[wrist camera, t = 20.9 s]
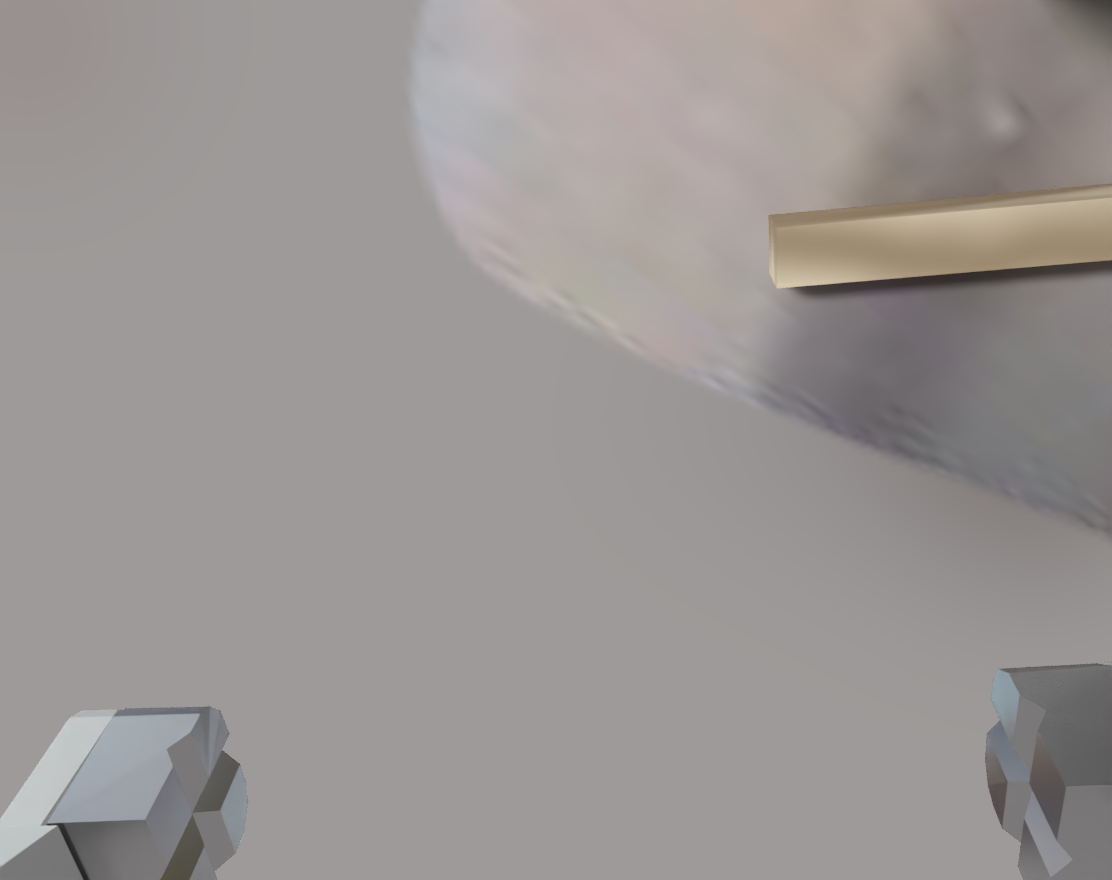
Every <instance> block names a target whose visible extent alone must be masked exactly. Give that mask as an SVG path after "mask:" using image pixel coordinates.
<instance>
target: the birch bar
mask: <svg viewBox="0 0 1112 880" xmlns="http://www.w3.org/2000/svg"><path fill="white" fill-rule="evenodd" d="M1107 260H1112V184H1105V185H1094V186H1083V187H1072V188H1061V189H1050V190H1039V191H1028V192H1017V193H1006V194H995V195H984V196H973V197H962V198H951V199H940V200H929V201H918V202H907V203H896V204H885V205H874V206H863V207H852V208H841V209H830V210H819V211H808V212H797V213H786V214H775V215H769V274H770V276H771V278H772V280H773V282H774V284H775V286H776V288H788V287H800V286H812V285H824V284H835V283H847V282H859V281H871V280H883V279H895V278H906V277H918V276H930V275H942V274H954V273H965V272H977V271H989V270H1001V269H1013V268H1025V267H1036V266H1048V265H1060V264H1072V263H1084V262H1095V261H1107Z"/></svg>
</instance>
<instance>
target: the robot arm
mask: <svg viewBox="0 0 1112 880" xmlns="http://www.w3.org/2000/svg"><path fill="white" fill-rule="evenodd" d="M991 701H992V703H993V705H994V708H995V710H996V712H997V714H998V717H999V719H1000V721H999V722H998V723H997V724H996V725H995V726H994V727H993V728H992V729H991V730H990V731H989V732H988V733H987V740H986V753H985V763H986V771H987V781H988V788H989V791H990V795H991V799H992V802H993V806H994V809H995V811H996V814H997V816H998V819H999V822H1000V824H1001V826H1002V829H1004V830H1005V831H1006V832H1008V833H1009V834H1010V835H1012V836H1013V837H1014V838H1016V839H1017V840H1018V841H1020V842H1021V846H1020V854H1019V861H1018V868H1019V870H1020V873H1021V875H1022V877H1023V880H1112V662H1104V663H1102V664H1080V665H1062V666H1043V667H1026V668H1009V669H1008V668H1007V669H998V671H997V673H996V675H995V678H994V680H993V687H992V694H991ZM228 735H229V731H228V729H227V726H226V724H225V721H224V719H223V716H222V714H221V711H220V710H217V709H215V708H212V707H172V708H130V709H124V710H83V711H81V712H79V713H77V714H76V715H74V716H72V717H71V718H69V719H68V721H67V722H66V723H65V725H64V726H63V728H62V729H61V731H60V732H59V734H58V735H57V737H56V738H55V740H54V741H53V742H52V744H51V745H50V747H49V748H48V750H47V751H46V753H45V754H44V756H43V757H42V759H41V760H40V762H39V763H38V764H37V766H36V768H35V769H34V770H33V772H32V773H31V775H30V776H29V778H28V779H27V781H26V782H25V783H24V785H23V786H22V788H21V789H20V791H19V792H18V794H17V795H16V797H15V798H14V800H13V801H12V803H11V804H10V805H9V807H8V808H7V810H6V811H5V813H4V815H3V816H2V817H1V819H0V880H217V878H216V875H215V872H214V871H215V870H217V869H218V868H219V867H220V866H221V865H222V864H224V863H225V862H226V861H227V860H228V859H229V858H231V857H232V856H233V855H234V854H235V853H236V851H237V848H238V845H239V843H240V840H241V837H242V834H243V832H244V827H245V821H246V813H247V805H248V799H247V790H246V781H245V778H244V775H243V772H242V769H241V766H240V764H239V763H238V762H237V761H235V760H234V759H233V758H231V757H230V756H229V755H228V754H226V753H225V752H224V751H223V750H222V749H223V747H224V744H225V742H226V740H227V738H228Z"/></svg>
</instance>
